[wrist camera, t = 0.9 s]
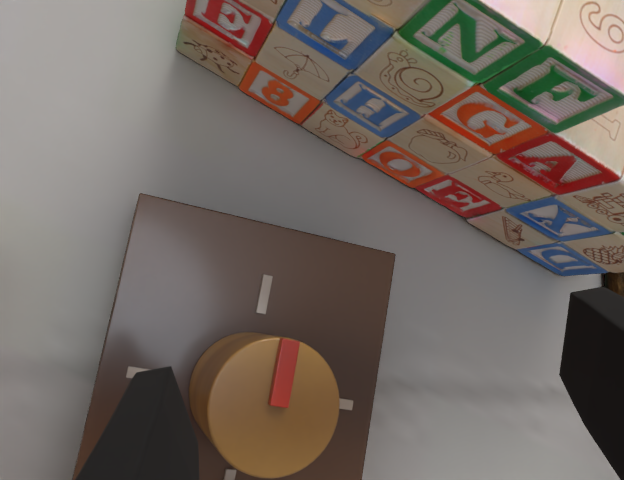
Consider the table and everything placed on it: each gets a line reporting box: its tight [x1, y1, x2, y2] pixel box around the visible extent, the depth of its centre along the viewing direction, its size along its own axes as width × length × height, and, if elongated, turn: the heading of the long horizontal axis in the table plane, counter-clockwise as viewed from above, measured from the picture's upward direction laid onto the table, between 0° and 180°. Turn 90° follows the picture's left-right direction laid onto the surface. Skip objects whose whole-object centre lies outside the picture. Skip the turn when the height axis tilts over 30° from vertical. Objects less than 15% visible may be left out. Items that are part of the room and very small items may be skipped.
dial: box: [189, 332, 340, 478], centre depth 19 cm, size 4×4×4 cm
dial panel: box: [72, 193, 395, 480], centre depth 22 cm, size 12×10×3 cm
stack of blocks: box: [176, 0, 624, 276], centre depth 22 cm, size 21×6×12 cm, turn 65°
